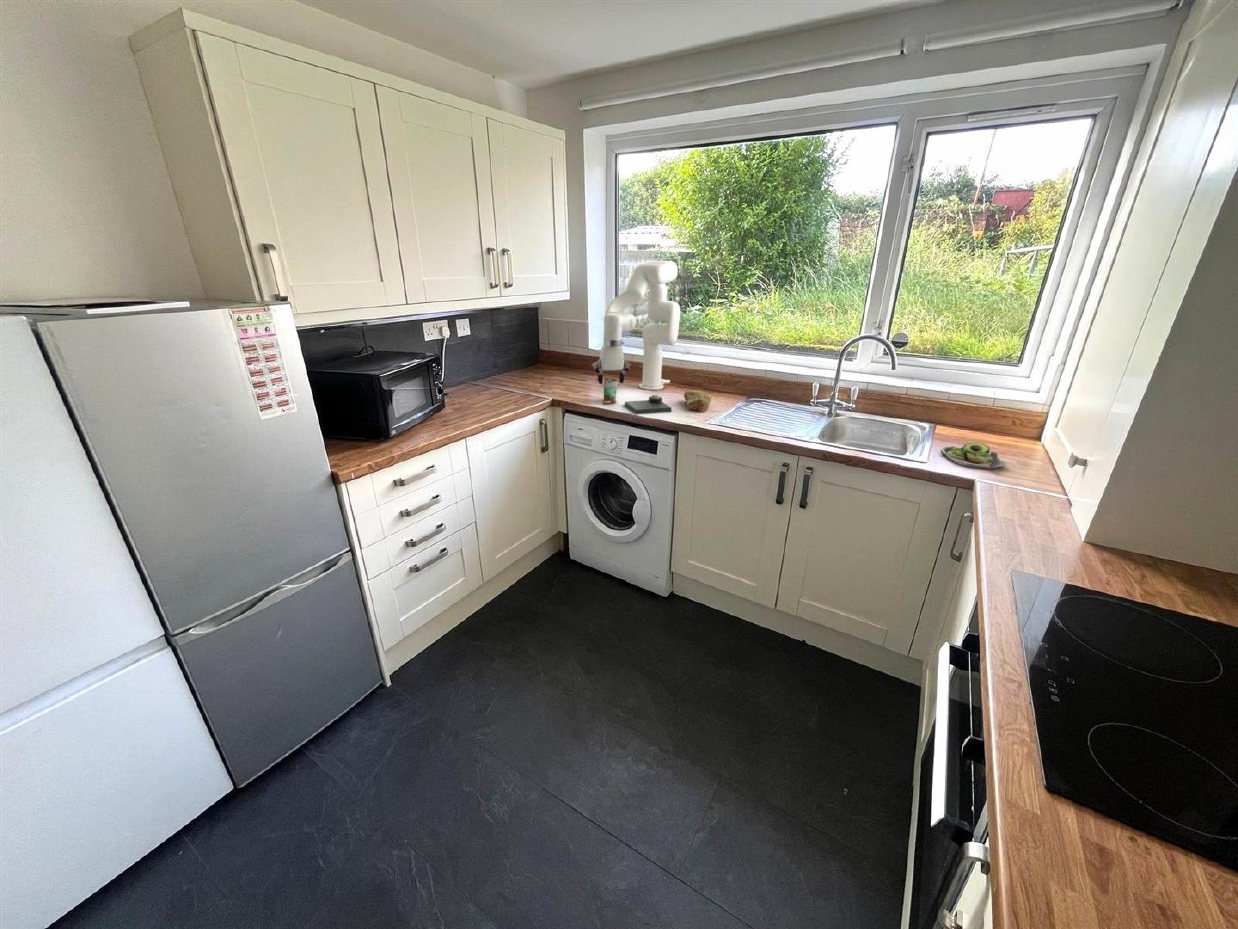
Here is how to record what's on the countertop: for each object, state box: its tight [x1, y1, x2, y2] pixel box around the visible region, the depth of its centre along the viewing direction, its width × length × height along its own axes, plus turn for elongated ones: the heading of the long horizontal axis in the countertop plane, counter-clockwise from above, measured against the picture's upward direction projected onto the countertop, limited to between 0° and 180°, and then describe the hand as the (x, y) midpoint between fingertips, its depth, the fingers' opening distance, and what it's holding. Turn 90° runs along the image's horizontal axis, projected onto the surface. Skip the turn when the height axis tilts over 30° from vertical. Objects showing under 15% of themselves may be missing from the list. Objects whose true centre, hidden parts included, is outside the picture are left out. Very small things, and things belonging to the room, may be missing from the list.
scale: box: [624, 395, 672, 415], centre depth 215 cm, size 16×14×4 cm
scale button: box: [651, 393, 660, 399], centre depth 220 cm, size 3×3×2 cm
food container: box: [603, 377, 619, 406], centre depth 222 cm, size 12×6×10 cm, turn 179°
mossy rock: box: [683, 389, 712, 412], centre depth 221 cm, size 13×8×20 cm
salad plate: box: [940, 442, 1007, 470], centre depth 165 cm, size 19×18×5 cm
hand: (610, 383), depth 220 cm, fingers open, 9 cm apart
